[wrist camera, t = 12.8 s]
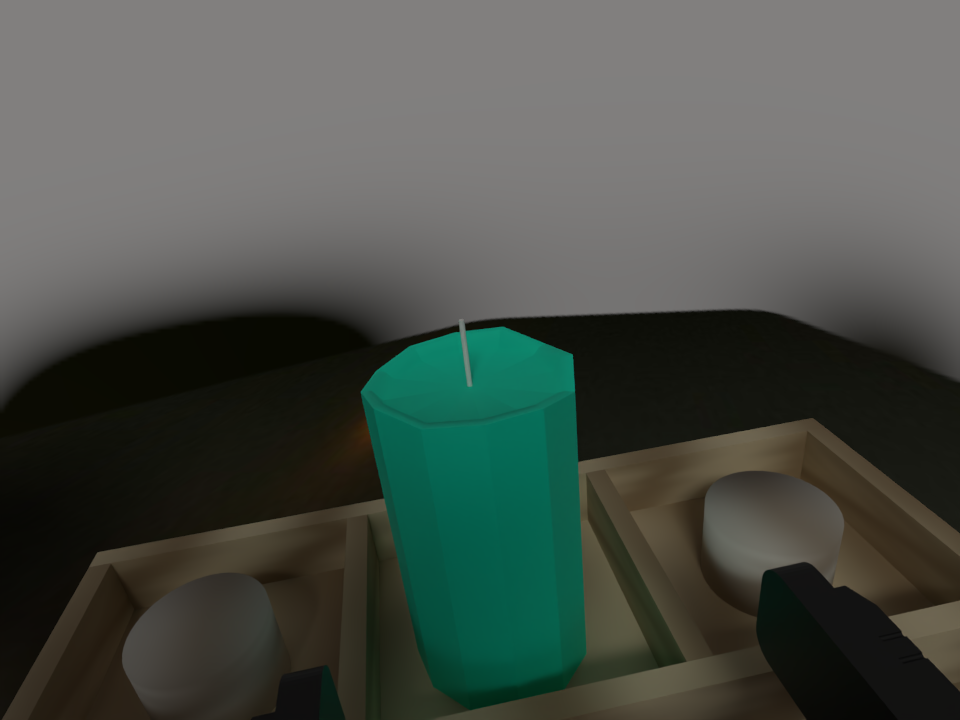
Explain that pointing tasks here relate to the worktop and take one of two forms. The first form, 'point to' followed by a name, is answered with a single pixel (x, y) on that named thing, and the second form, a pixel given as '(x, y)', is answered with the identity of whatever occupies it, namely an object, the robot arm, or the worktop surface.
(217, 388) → the worktop surface
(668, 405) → the worktop surface
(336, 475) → the worktop surface
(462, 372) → the candle
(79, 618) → the tray
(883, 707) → the robot arm
